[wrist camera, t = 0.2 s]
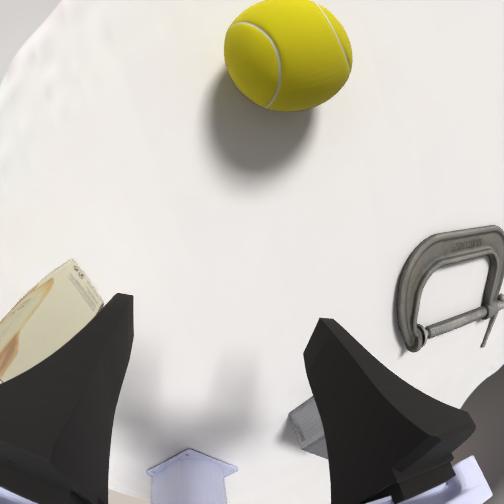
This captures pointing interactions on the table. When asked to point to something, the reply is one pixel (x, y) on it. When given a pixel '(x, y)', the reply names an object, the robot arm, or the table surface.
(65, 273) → the skincare box
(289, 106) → the tennis ball
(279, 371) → the table surface
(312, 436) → the brushed steel cube
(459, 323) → the c clamp
